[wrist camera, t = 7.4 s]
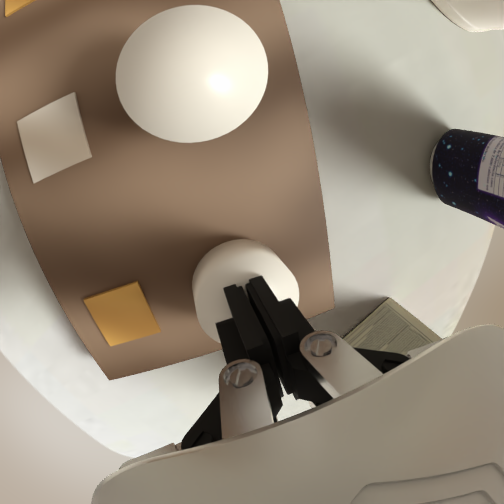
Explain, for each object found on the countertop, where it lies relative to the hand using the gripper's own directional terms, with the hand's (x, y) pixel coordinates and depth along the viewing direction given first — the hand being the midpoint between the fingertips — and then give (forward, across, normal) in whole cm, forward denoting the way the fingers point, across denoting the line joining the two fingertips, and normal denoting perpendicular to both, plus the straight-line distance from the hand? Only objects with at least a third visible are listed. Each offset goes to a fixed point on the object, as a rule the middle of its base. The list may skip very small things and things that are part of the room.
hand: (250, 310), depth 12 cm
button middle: (0, 0, -9) cm, 9 cm away
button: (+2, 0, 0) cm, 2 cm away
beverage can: (+5, -17, -2) cm, 18 cm away
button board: (+4, +2, -9) cm, 10 cm away
